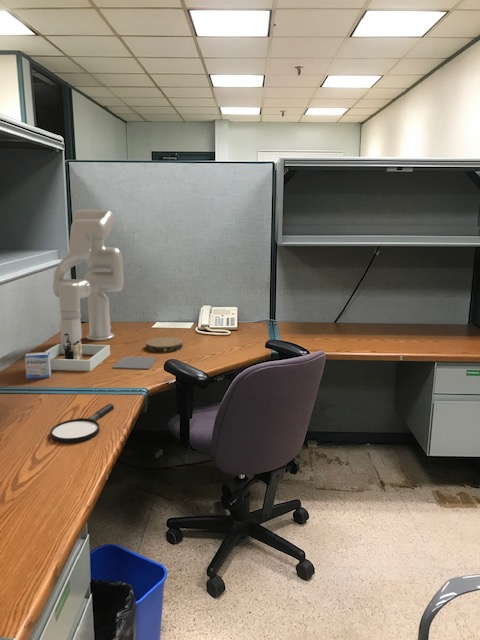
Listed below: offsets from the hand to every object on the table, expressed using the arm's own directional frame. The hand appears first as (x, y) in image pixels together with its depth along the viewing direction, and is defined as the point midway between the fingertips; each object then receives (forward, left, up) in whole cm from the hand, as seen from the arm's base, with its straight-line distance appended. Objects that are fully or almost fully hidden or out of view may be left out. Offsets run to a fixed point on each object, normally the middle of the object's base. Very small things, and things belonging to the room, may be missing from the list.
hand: (73, 357), depth 194 cm
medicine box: (+19, -5, -2) cm, 20 cm away
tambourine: (-24, +31, -2) cm, 39 cm away
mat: (0, +25, -2) cm, 25 cm away
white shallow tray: (0, 0, -2) cm, 2 cm away
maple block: (0, 0, -2) cm, 2 cm away
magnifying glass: (+57, +28, -2) cm, 63 cm away
